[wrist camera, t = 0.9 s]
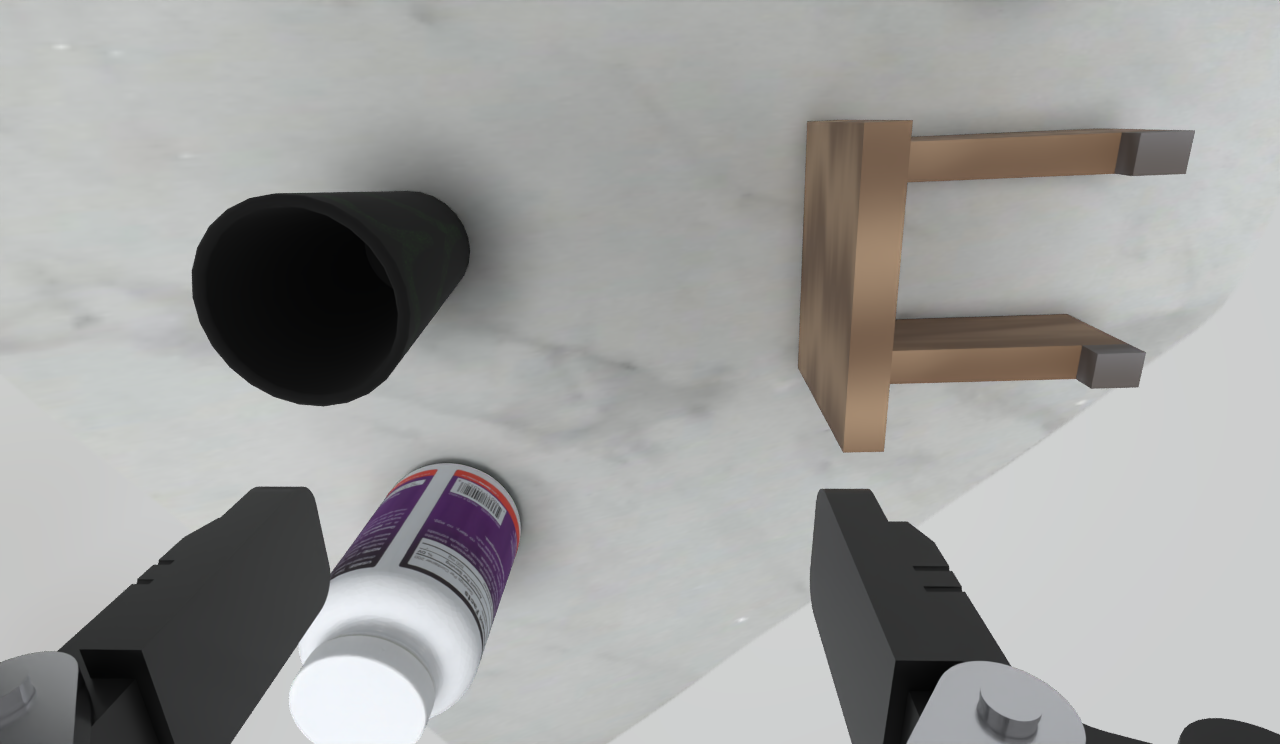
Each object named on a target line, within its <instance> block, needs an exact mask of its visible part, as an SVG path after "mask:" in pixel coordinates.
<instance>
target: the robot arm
mask: <svg viewBox="0 0 1280 744" xmlns="http://www.w3.org/2000/svg"><path fill="white" fill-rule="evenodd" d="M329 587H330V566H329V562H328V557H327V552H326V548H325V543H324V538H323V534H322V529H321V525H320V520H319V515H318V511H317V506H316V502H315V498H314V496H313V494H312V492H311V491H310V490H309V489H308V488H306V487H255V488H253V489H251V490H250V491H249V492H248V493H247V494H246V495H245V496H243V497H242V498H241V499H240V500H239V501H238V502H237V503H236V504H235V505H234V506H233V507H232V508H231V509H229V510H228V511H227V512H226V513H225V514H224V515H223V516H222V517H221V518H218V519H216V520H214V521H212V522H210V523H209V524H207V525H205V526H203V527H202V528H200V529H198V530H196V531H194V532H193V533H191V534H189V535H187V536H185V537H184V538H183V539H182V540H181V541H179V542H178V543H177V544H176V545H175V546H174V547H173V548H172V549H170V550H169V551H168V552H167V553H166V554H165V555H164V556H163V557H162V558H160V559H159V563H158V565H153V566H152V567H150V568H149V569H148V570H147V571H146V572H145V573H144V574H143V575H142V576H140V577H139V578H138V580H137V584H132V585H130V586H129V587H128V588H127V589H126V590H125V591H124V592H123V593H121V594H120V595H119V596H118V597H117V598H116V599H115V600H114V601H113V602H111V604H109V605H108V606H107V607H106V608H105V609H104V610H103V611H101V612H100V613H99V614H98V615H97V616H96V617H95V618H94V619H93V620H91V621H90V622H89V623H88V624H87V625H86V626H85V627H84V628H83V629H81V630H80V631H79V632H78V633H77V634H76V635H75V636H74V637H73V638H71V639H70V640H69V641H68V642H67V643H66V644H65V645H64V646H63V647H62V648H60V649H59V650H58V651H57V652H56V651H44V652H37V653H31V654H27V655H22V656H18V657H15V658H11V659H8V660H5V661H3V662H0V744H231V742H232V741H233V739H234V737H235V736H236V735H237V733H238V732H239V730H240V729H241V728H242V726H243V725H244V723H245V721H246V720H247V719H248V717H249V716H250V714H251V713H252V711H253V710H254V708H255V707H256V705H257V704H258V703H259V701H260V700H261V698H262V697H263V695H264V694H265V692H266V691H267V689H268V688H269V686H270V685H271V683H272V682H273V680H274V679H275V677H276V676H277V675H278V673H279V671H280V670H281V669H282V667H283V666H284V664H285V663H286V661H287V660H288V658H289V657H290V655H291V654H292V652H293V651H294V649H295V648H296V647H297V645H298V644H299V642H300V641H301V639H302V638H303V636H304V635H305V633H306V632H307V630H308V629H309V627H310V626H311V624H312V623H313V622H314V620H315V619H316V617H317V616H318V614H319V613H320V611H321V610H322V608H323V606H324V604H325V602H326V599H327V596H328V592H329ZM810 593H811V602H812V608H813V613H814V617H815V620H816V623H817V627H818V630H819V634H820V637H821V641H822V644H823V647H824V651H825V654H826V657H827V660H828V664H829V668H830V671H831V674H832V677H833V681H834V684H835V688H836V691H837V695H838V698H839V701H840V705H841V708H842V711H843V715H844V718H845V721H846V725H847V728H848V732H849V735H850V738H851V742H852V744H1151V743H1147V742H1143V741H1140V740H1136V739H1132V738H1128V737H1124V736H1121V735H1117V734H1112V733H1108V732H1105V731H1102V730H1099V729H1096V728H1093V727H1090V726H1087V725H1085V724H1083V723H1082V722H1081V719H1080V717H1079V716H1078V714H1077V713H1076V711H1075V710H1074V708H1073V707H1072V706H1071V705H1070V704H1069V702H1068V701H1067V700H1066V699H1065V698H1064V697H1063V696H1062V695H1061V694H1059V693H1058V692H1057V691H1056V690H1055V689H1053V688H1052V687H1051V686H1049V685H1048V684H1047V683H1045V682H1043V681H1042V680H1040V679H1038V678H1037V677H1035V676H1033V675H1031V674H1029V673H1027V672H1025V671H1023V670H1020V669H1017V668H1014V667H1012V666H1011V665H1010V664H1009V662H1008V661H1007V659H1006V657H1005V655H1004V654H1003V652H1002V651H1001V649H1000V647H999V646H998V644H997V643H996V641H995V639H994V638H993V636H992V635H991V633H990V631H989V630H988V628H987V627H986V625H985V623H984V622H983V620H982V618H981V617H980V615H979V614H978V612H977V610H976V609H975V607H974V606H973V604H972V603H971V601H970V599H969V598H968V596H967V594H966V593H965V592H962V586H961V585H960V583H959V582H958V580H957V578H956V577H955V575H954V573H953V572H952V571H949V565H948V564H947V562H946V561H945V559H944V557H943V556H942V554H941V552H940V551H939V549H938V548H937V546H936V544H935V543H934V542H933V541H932V540H930V539H929V538H928V537H927V536H925V535H924V534H923V533H922V532H920V531H919V530H918V529H916V528H915V527H914V526H912V525H911V524H910V523H908V522H888V520H887V518H886V516H885V515H884V513H883V511H882V509H881V507H880V505H879V503H878V502H877V500H876V498H875V496H874V494H873V493H872V491H871V490H870V489H820V490H819V492H818V495H817V500H816V510H815V521H814V533H813V544H812V556H811V567H810ZM1178 744H1280V735H1279V734H1277V733H1274V732H1272V731H1269V730H1267V729H1264V728H1261V727H1258V726H1255V725H1252V724H1249V723H1245V722H1241V721H1236V720H1230V719H1222V718H1212V719H1211V718H1208V719H1202V720H1198V721H1195V722H1193V723H1191V724H1189V725H1188V726H1187V727H1186V728H1184V730H1183V732H1182V734H1181V735H1180V738H1179V741H1178Z"/></svg>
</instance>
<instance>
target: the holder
mask: <svg viewBox="0 0 1280 744" xmlns="http://www.w3.org/2000/svg"><path fill="white" fill-rule="evenodd" d="M912 123H913V120H830V121H808V122H807V144H806V170H805V197H804V223H803V249H802V276H801V302H800V329H799V355H798V368H799V370H800V372H801V374H802V376H803V378H804V380H805V382H806V383H807V385H808V387H809V389H810V391H811V393H812V395H813V397H814V399H815V400H816V402H817V404H818V406H819V408H820V410H821V412H822V414H823V415H824V417H825V419H826V421H827V423H828V425H829V427H830V429H831V431H832V432H833V434H834V436H835V438H836V440H837V442H838V444H839V446H840V447H841V449H842V451H843V452H884V444H885V432H886V421H887V409H888V398H889V387H890V384H906V383H942V382H979V381H1015V380H1052V379H1077V380H1079V381H1080V382H1082V383H1083V384H1085V385H1086V386H1088V387H1090V388H1091V389H1093V388H1129V387H1138V386H1139V381H1140V377H1141V373H1142V368H1143V364H1144V359H1145V355H1146V352H1144V351H1142V350H1140V349H1138V348H1135V347H1133V346H1131V345H1129V344H1127V343H1125V342H1123V341H1121V340H1119V339H1117V338H1115V337H1113V336H1111V335H1109V334H1107V333H1105V332H1103V331H1101V330H1099V329H1096V328H1094V327H1092V326H1090V325H1088V324H1086V323H1084V322H1082V321H1080V320H1078V319H1076V318H1074V317H1072V316H1070V315H1068V314H1055V315H1024V316H992V317H961V318H929V319H898V320H895V318H896V306H897V295H898V284H899V272H900V261H901V249H902V238H903V226H904V215H905V203H906V192H907V182H925V181H950V180H974V179H998V178H1022V177H1046V176H1071V175H1095V174H1121V175H1129V176H1144V175H1169V174H1186V169H1187V165H1188V160H1189V156H1190V151H1191V147H1192V142H1193V138H1194V133H1195V131H1190V130H1145V129H1077V130H1055V131H1032V132H1010V133H987V134H965V135H942V136H920V137H911V135H912Z"/></svg>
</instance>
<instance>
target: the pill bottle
mask: <svg viewBox="0 0 1280 744" xmlns="http://www.w3.org/2000/svg"><path fill="white" fill-rule="evenodd" d="M520 537H521V524H520V518H519V514H518V511H517V508H516V506H515V503H514V501H513V500H512V498H511V496H510V495H509V493H508V492H507V491H506V490H505V488H504V487H503V486H502V485H501V484H500V483H498V482H497V481H496V480H495V479H494V478H492V477H491V476H489V475H488V474H486V473H484V472H482V471H480V470H478V469H475V468H472V467H469V466H465V465H461V464H453V463H441V464H434V465H429V466H425V467H422V468H419V469H417V470H415V471H413V472H411V473H409V474H408V475H406V476H405V477H404V478H402V479H401V480H400V481H399V482H398V483H397V484H396V485H395V486H394V488H393V489H392V490H391V491H390V493H389V494H388V495H387V496H386V498H385V499H384V501H383V502H382V504H381V505H380V507H379V508H378V509H377V510H376V512H375V513H374V515H373V516H372V517H371V519H370V520H369V522H368V523H367V524H366V526H365V527H364V529H363V530H362V531H361V533H360V534H359V535H358V537H357V538H356V540H355V541H354V542H353V544H352V545H351V546H350V548H349V549H348V551H347V552H346V553H345V555H344V556H343V557H342V559H341V560H340V562H339V563H338V564H337V566H336V567H335V568H334V570H333V571H332V572H331V574H330V587H329V592H328V596H327V599H326V602H325V604H324V606H323V608H322V610H321V611H320V613H319V614H318V616H317V617H316V619H315V620H314V622H313V623H312V624H311V626H310V627H309V629H308V630H307V632H306V633H305V635H304V636H303V638H302V639H301V641H300V642H299V644H298V649H299V655H300V658H301V662H302V664H303V666H302V668H301V669H300V671H299V673H298V674H297V676H296V677H295V679H294V681H293V683H292V685H291V688H290V693H289V706H290V711H291V714H292V717H293V719H294V721H295V723H296V725H297V726H298V728H299V729H300V730H301V731H302V733H303V734H304V735H305V736H306V737H307V738H308V739H309V740H310V741H312V742H313V743H314V744H416V742H417V741H418V740H419V738H420V737H421V736H422V734H423V732H424V729H425V727H426V725H427V722H428V720H429V718H432V717H434V716H436V715H438V714H440V713H442V712H444V711H445V710H447V709H448V708H450V707H451V706H452V705H454V704H455V703H456V702H457V701H458V700H459V699H460V698H461V697H462V696H463V695H464V694H465V692H466V691H467V690H468V688H469V687H470V685H471V683H472V682H473V679H474V677H475V675H476V672H477V669H478V667H479V664H480V660H481V658H482V654H483V651H484V648H485V645H486V642H487V639H488V636H489V633H490V630H491V627H492V624H493V621H494V618H495V615H496V612H497V609H498V606H499V603H500V600H501V597H502V594H503V591H504V588H505V585H506V582H507V579H508V576H509V573H510V570H511V567H512V564H513V562H514V559H515V556H516V553H517V550H518V546H519V542H520Z"/></svg>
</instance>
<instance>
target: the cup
mask: <svg viewBox="0 0 1280 744" xmlns="http://www.w3.org/2000/svg"><path fill="white" fill-rule="evenodd" d="M469 254H470V249H469V241H468V236H467V234H466V231H465V229H464V226H463V224H462V223H461V221H460V220H459V218H458V217H457V215H456V214H455V213H454V212H453V211H452V210H451V209H450V208H449V207H448V206H447V205H446V204H445V203H443V202H442V201H440V200H438V199H437V198H435V197H433V196H430V195H427V194H424V193H421V192H410V191H394V192H333V193H275V194H270V195H264V196H259V197H253V198H249V199H247V200H245V201H243V202H241V203H239V204H237V205H235V206H233V207H231V208H229V209H227V210H226V211H225V212H224V213H223V214H222V215H221V216H220V217H219V218H217V219H216V220H215V221H214V222H213V223H212V224H211V225H210V226H209V228H208V229H207V231H206V233H205V235H204V237H203V238H202V240H201V242H200V244H199V245H198V247H197V251H196V255H195V260H194V264H193V268H192V292H193V300H194V304H195V307H196V311H197V314H198V318H199V322H200V324H201V326H202V328H203V329H204V331H205V333H206V335H207V337H208V339H209V341H210V343H211V345H212V346H213V348H214V349H215V350H216V351H217V352H218V354H219V355H220V356H221V357H222V358H223V360H224V361H225V362H226V363H227V364H228V366H229V367H230V368H231V369H233V370H234V371H235V372H236V373H237V374H239V375H240V376H241V377H242V378H244V379H245V380H246V381H247V382H248V383H250V384H251V385H253V386H255V387H257V388H259V389H260V390H262V391H264V392H266V393H268V394H270V395H272V396H273V397H276V398H280V399H283V400H286V401H290V402H293V403H296V404H301V405H314V406H329V405H335V404H342V403H348V402H350V401H353V400H355V399H357V398H360V397H362V396H364V395H367V394H369V393H370V392H371V391H373V390H374V389H375V388H376V387H378V386H379V385H380V384H381V383H383V382H384V381H385V380H386V379H387V378H388V377H389V375H390V374H391V373H392V371H393V370H394V369H395V367H396V366H397V365H398V363H399V362H400V361H401V359H402V358H403V357H404V355H405V354H406V353H407V351H408V350H409V349H410V347H411V346H412V345H413V343H414V342H415V341H416V339H417V338H418V337H419V335H420V334H421V333H422V331H423V330H424V329H425V327H426V326H427V325H428V323H429V322H430V321H431V319H432V318H433V317H434V315H435V314H436V313H437V311H438V310H439V309H440V307H441V306H442V305H443V303H444V302H445V301H446V299H447V298H448V297H449V295H450V294H451V293H452V291H453V290H454V288H455V287H456V286H457V284H458V283H459V282H460V280H461V279H462V278H463V276H464V274H465V272H466V269H467V266H468V263H469Z"/></svg>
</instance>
